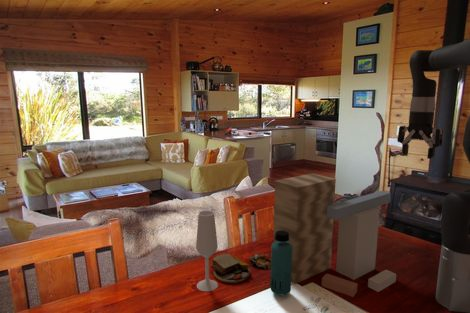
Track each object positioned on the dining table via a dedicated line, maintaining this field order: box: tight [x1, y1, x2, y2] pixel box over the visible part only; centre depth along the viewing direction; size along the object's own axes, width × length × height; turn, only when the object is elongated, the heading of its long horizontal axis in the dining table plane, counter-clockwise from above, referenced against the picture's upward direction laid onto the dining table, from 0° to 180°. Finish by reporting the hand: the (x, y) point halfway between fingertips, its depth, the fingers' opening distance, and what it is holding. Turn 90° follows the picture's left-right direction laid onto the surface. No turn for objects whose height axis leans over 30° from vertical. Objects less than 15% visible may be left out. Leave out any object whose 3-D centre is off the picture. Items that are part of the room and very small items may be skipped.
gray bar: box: [327, 190, 392, 221], centre depth 113 cm, size 30×4×4 cm, turn 126°
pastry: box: [249, 252, 271, 271], centre depth 120 cm, size 7×12×4 cm, turn 67°
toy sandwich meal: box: [209, 253, 251, 284], centre depth 114 cm, size 12×14×5 cm
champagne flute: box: [195, 210, 219, 292], centre depth 105 cm, size 7×7×24 cm
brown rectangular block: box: [321, 273, 359, 298], centre depth 105 cm, size 10×4×3 cm, turn 53°
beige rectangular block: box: [367, 269, 397, 293], centre depth 108 cm, size 10×4×3 cm, turn 126°
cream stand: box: [335, 207, 381, 281], centre depth 115 cm, size 12×7×22 cm, turn 126°
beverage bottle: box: [269, 230, 292, 296], centre depth 101 cm, size 6×7×20 cm
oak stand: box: [272, 172, 337, 284], centre depth 114 cm, size 18×10×32 cm, turn 126°
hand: (417, 156), depth 120 cm, fingers open, 8 cm apart
